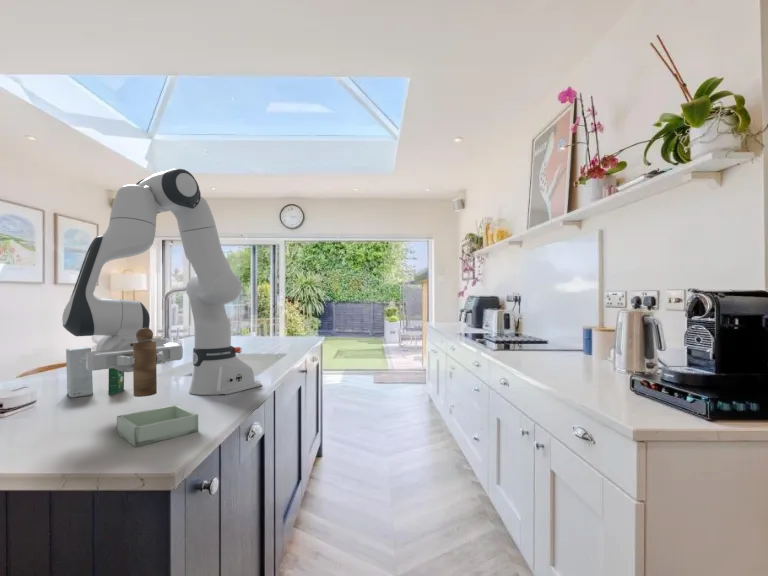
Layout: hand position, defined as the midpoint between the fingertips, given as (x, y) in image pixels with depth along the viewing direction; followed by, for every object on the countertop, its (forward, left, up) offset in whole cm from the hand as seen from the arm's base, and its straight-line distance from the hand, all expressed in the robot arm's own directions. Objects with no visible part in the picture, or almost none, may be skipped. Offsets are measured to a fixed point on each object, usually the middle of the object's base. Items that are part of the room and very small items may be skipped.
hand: (146, 359), depth 95 cm
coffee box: (-7, -52, -17) cm, 55 cm away
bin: (-2, +1, -17) cm, 17 cm away
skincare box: (+2, -57, -17) cm, 59 cm away
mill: (0, -1, -8) cm, 8 cm away
